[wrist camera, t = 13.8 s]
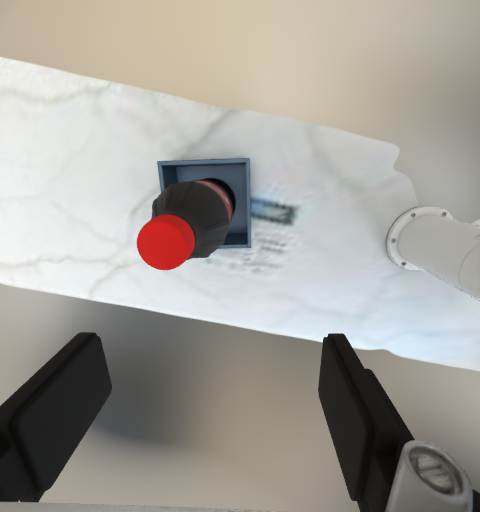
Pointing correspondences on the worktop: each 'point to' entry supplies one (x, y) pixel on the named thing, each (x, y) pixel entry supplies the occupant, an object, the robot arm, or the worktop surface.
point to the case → (227, 171)
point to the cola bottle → (187, 223)
